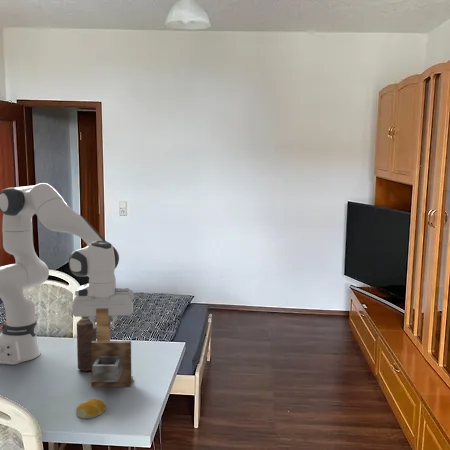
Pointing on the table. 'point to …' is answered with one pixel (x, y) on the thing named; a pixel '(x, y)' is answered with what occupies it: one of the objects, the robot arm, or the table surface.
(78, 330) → the brown rough cylinder
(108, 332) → the wooden block
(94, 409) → the bread roll
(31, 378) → the table surface
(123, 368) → the bracket
